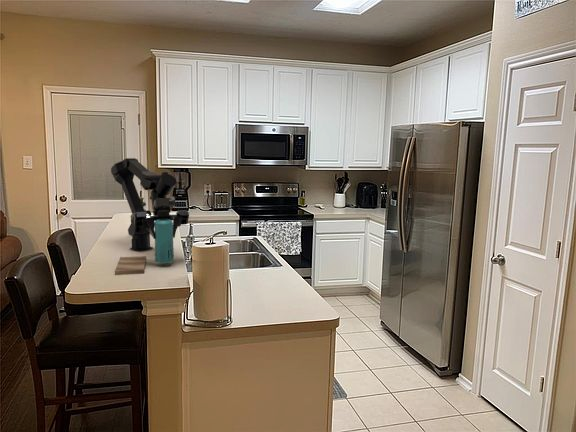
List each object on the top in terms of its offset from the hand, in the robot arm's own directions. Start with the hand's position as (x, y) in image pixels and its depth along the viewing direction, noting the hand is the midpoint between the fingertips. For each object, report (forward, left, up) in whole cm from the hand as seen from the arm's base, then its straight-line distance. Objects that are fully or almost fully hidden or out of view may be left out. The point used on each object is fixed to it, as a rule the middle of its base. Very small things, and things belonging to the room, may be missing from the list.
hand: (164, 237), depth 149 cm
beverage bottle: (0, -1, -10) cm, 10 cm away
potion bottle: (-25, -46, -10) cm, 53 cm away
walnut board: (+8, -8, -10) cm, 15 cm away
